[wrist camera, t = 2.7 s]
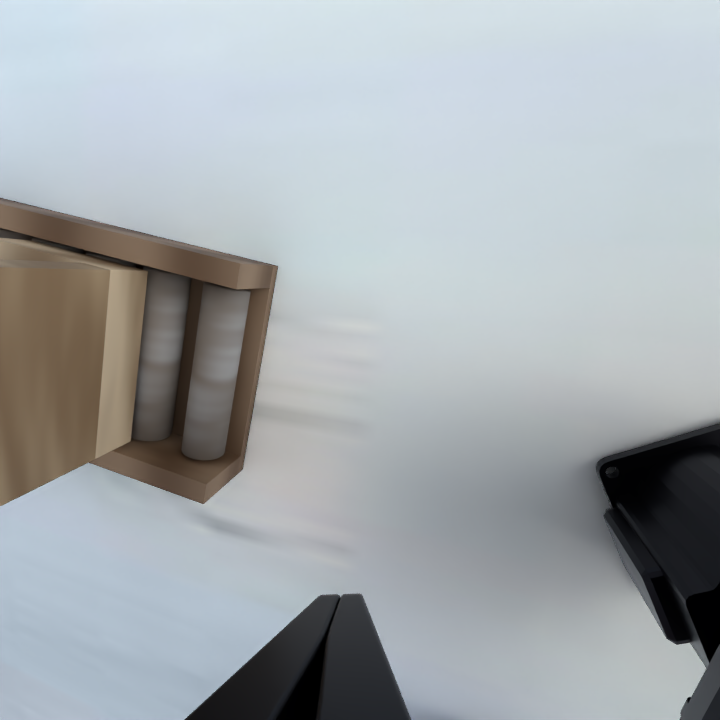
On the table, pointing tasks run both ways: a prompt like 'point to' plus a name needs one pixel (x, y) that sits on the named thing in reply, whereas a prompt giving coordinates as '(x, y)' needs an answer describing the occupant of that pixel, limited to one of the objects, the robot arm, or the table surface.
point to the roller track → (201, 270)
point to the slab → (64, 360)
